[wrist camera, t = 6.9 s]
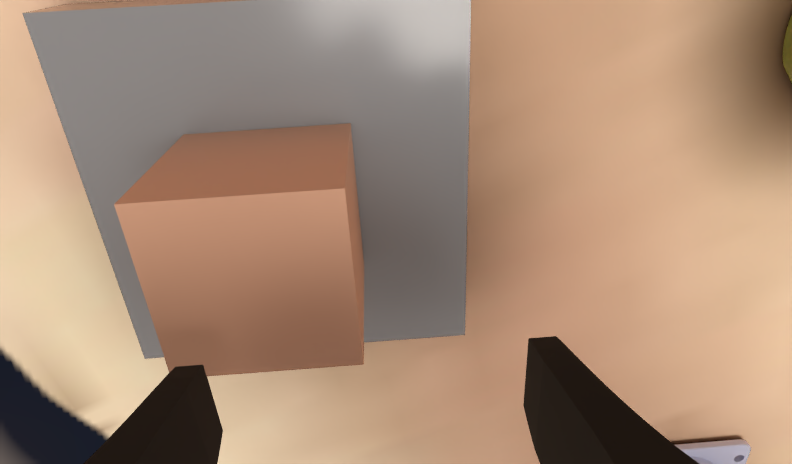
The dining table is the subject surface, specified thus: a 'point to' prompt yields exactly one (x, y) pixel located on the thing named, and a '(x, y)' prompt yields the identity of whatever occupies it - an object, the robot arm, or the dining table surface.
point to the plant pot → (788, 50)
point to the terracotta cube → (251, 250)
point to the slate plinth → (283, 121)
